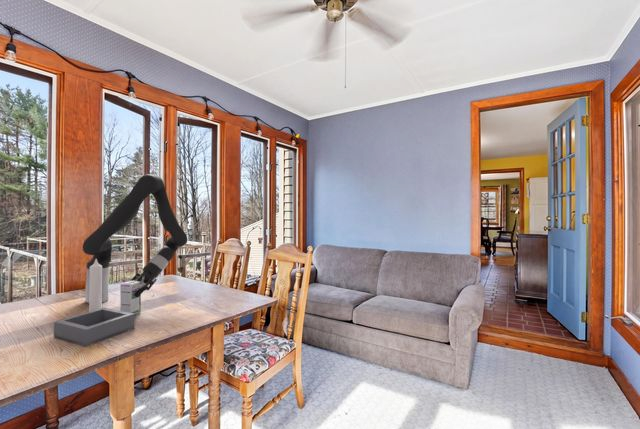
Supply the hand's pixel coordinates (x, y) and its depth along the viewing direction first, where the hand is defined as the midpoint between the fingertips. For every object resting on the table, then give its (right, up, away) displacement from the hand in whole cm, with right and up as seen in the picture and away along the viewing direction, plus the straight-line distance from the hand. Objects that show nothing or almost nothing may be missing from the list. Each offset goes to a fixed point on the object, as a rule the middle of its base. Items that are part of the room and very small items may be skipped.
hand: (130, 294), depth 138 cm
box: (0, -9, -21) cm, 23 cm away
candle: (-15, -9, -2) cm, 17 cm away
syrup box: (0, -9, 0) cm, 9 cm away
